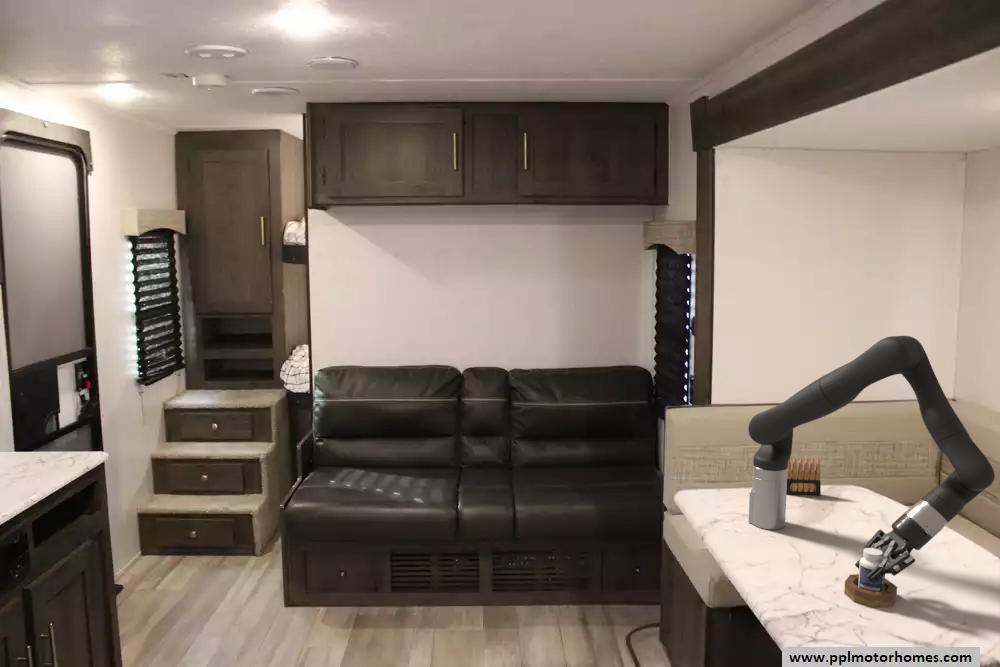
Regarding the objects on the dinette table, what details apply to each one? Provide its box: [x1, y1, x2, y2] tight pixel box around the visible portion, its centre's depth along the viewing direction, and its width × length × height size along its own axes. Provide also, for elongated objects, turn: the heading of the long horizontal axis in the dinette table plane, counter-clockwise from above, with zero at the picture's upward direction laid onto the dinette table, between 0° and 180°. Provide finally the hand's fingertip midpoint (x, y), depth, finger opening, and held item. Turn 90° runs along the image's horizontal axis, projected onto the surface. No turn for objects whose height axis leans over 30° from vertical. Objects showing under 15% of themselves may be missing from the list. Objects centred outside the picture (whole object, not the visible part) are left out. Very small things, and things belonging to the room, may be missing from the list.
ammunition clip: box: [786, 457, 822, 497], centre depth 243 cm, size 11×2×12 cm, turn 81°
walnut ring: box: [843, 573, 898, 609], centre depth 178 cm, size 10×10×3 cm
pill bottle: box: [858, 547, 886, 592], centre depth 177 cm, size 5×5×10 cm
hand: (864, 574), depth 178 cm, fingers closed on pill bottle, 5 cm apart
